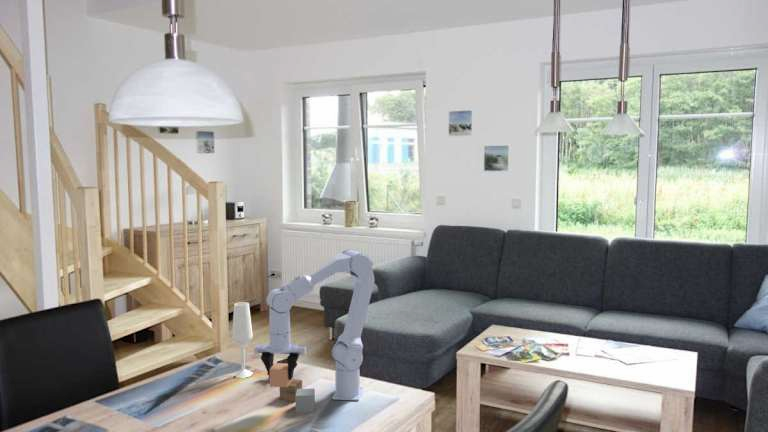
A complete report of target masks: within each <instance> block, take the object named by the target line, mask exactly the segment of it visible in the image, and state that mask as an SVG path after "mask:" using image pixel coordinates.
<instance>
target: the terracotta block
mask: <svg viewBox="0 0 768 432" xmlns="http://www.w3.org/2000/svg"><path fill="white" fill-rule="evenodd" d="M269 370H270V379H269V387H271V388H274V387H275V388H280V387H288V385H289V384H290V383H291V381H292V379H293V378H292V379H291V380H289V379H288V364H286V363H277V362H273V366H272V367H271V368H270V369H269Z"/></svg>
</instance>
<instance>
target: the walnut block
mask: <svg viewBox="0 0 768 432" xmlns="http://www.w3.org/2000/svg"><path fill="white" fill-rule="evenodd" d="M297 389H303V379H296V378H292V381H291V383H290V384H289V385H288V387H279V401H284V402H291V403H292V402H293V403H296V402H295V395H296V392H297Z"/></svg>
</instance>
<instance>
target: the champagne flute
mask: <svg viewBox="0 0 768 432" xmlns="http://www.w3.org/2000/svg"><path fill="white" fill-rule="evenodd" d="M251 316H252V315H251V310H250V303H249V302H246V301H239V302H235V303H234V304H233V315H232V328H231V329H232V332H231V338H232V339H231V340H232V341H233V342H234V343H235V344H236V346H238V347H240V363H241V364H240V365H241V367H240V368H241V369H240V370H238V371H236V372H235V373H234V374H233V375H235V376H236V377H240V378H244V379H246V378H245V377H249V376H251V375H252V374H253V373H254V372H252V371H250V370H248V369H246V360H245V359H246V356H245V355H246V353H245V351H246V350H245V349H246V347H247V345H249V343H251V342H252V341H251V340H252V339H253V337H254V333H253V327H252V317H251ZM249 378H250V377H249Z"/></svg>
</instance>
